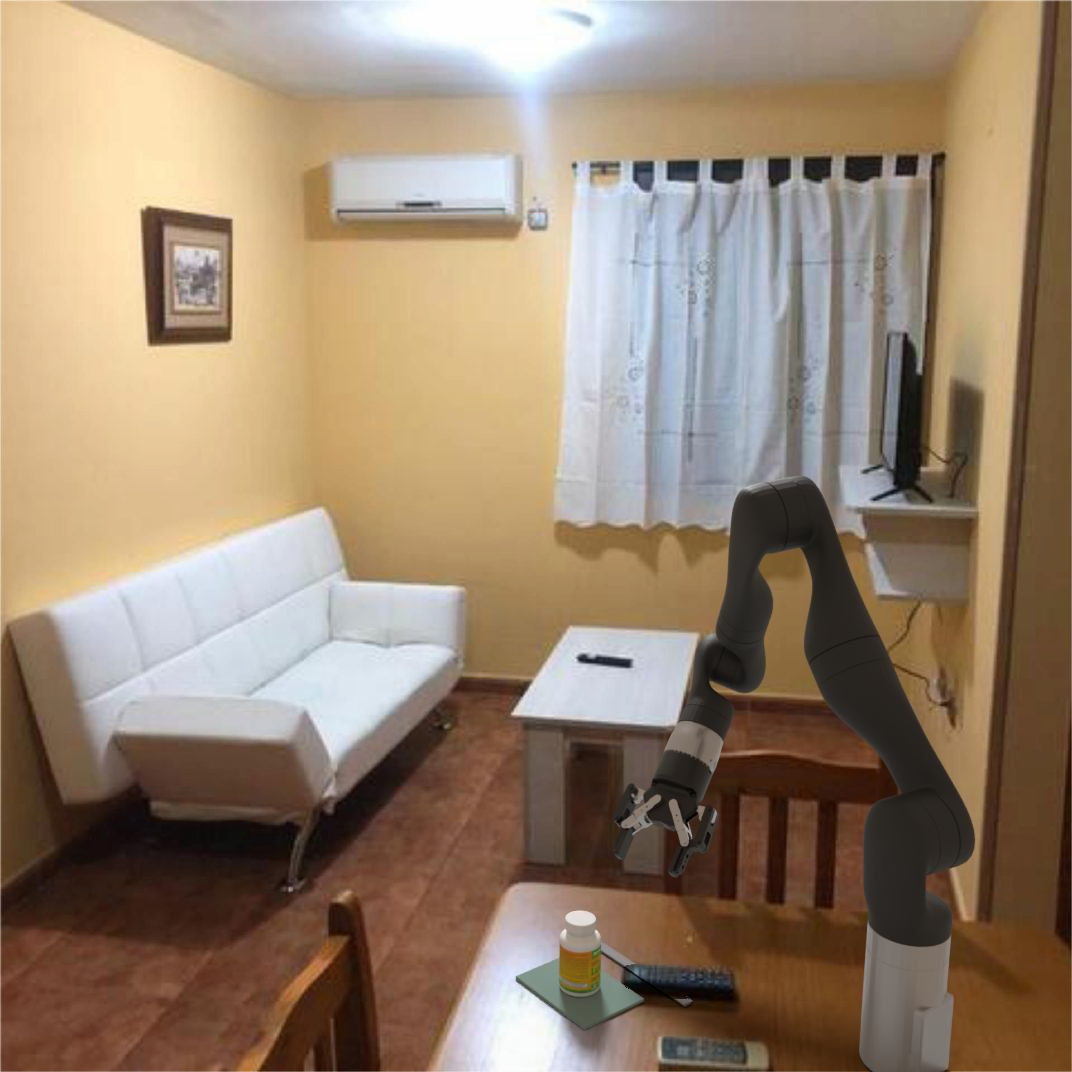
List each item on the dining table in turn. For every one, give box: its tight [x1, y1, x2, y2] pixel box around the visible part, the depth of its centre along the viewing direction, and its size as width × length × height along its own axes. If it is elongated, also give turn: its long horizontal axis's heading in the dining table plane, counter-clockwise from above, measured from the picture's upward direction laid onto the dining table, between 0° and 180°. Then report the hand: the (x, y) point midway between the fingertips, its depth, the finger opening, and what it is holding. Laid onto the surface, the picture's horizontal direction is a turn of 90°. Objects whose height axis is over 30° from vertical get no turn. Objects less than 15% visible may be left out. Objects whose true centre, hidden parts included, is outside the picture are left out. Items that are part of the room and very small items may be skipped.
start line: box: [601, 941, 693, 1008], centre depth 156 cm, size 22×2×1 cm, turn 38°
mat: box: [515, 957, 645, 1031], centre depth 151 cm, size 14×10×1 cm
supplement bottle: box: [558, 910, 602, 997], centre depth 150 cm, size 5×5×10 cm
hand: (645, 866), depth 158 cm, fingers open, 8 cm apart
